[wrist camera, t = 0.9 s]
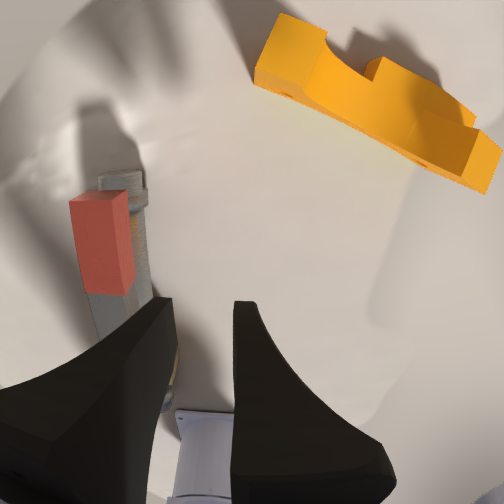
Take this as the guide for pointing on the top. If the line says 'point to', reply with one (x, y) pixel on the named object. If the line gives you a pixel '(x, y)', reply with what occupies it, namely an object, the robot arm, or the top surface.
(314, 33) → the pipe clamp
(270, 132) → the top surface
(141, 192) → the cylinder
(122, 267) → the lever
